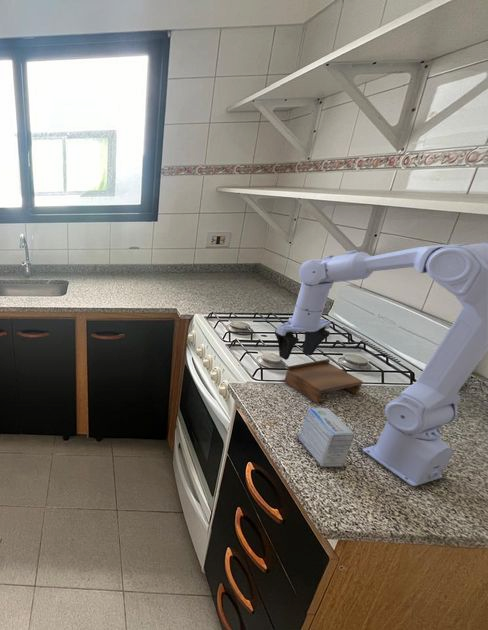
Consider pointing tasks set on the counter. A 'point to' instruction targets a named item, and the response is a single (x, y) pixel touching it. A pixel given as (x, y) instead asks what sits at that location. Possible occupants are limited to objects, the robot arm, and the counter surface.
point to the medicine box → (326, 437)
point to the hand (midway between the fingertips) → (295, 355)
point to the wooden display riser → (320, 379)
